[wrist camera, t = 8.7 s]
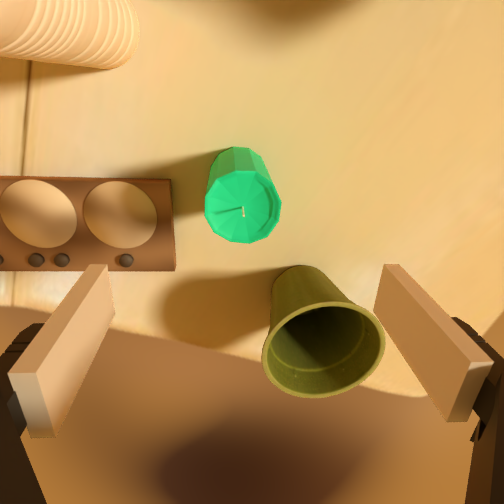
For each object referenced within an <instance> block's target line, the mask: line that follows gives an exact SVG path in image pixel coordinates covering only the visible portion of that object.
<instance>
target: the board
mask: <svg viewBox="0 0 504 504" xmlns="http://www.w3.org/2000/svg"><path fill="white" fill-rule="evenodd" d="M90 264H107V266H108V271H175V268H176V253H175V238H174V223H173V207H172V192H171V179H129V178H82V177H36V176H0V271H85V270H86V269H87V267H88V266H89V265H90Z"/></svg>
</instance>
